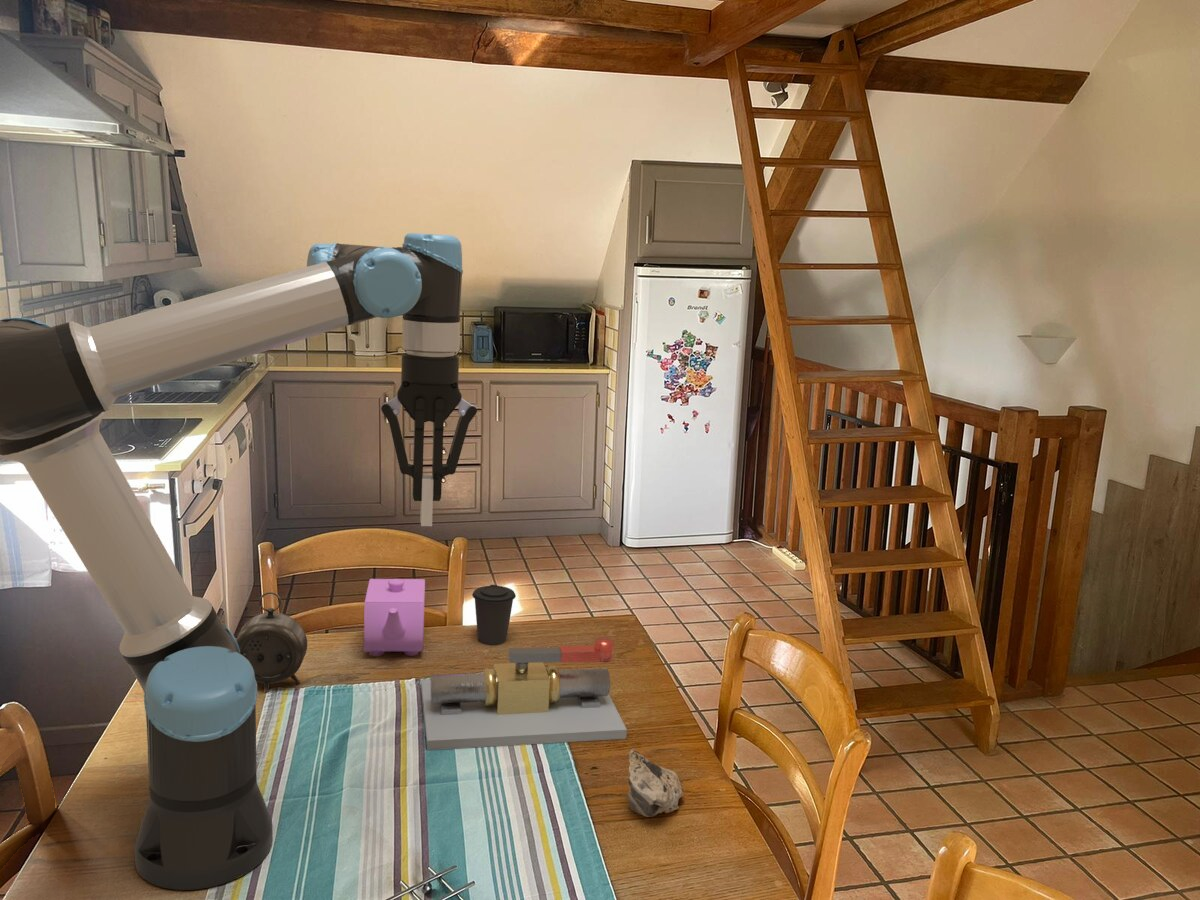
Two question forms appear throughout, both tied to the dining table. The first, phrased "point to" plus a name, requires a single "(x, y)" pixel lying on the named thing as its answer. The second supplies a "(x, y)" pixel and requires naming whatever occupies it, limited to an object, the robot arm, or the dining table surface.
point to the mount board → (519, 724)
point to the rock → (652, 787)
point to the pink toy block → (394, 616)
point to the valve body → (519, 688)
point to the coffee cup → (493, 613)
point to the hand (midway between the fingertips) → (426, 523)
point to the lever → (563, 654)
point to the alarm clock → (273, 645)
